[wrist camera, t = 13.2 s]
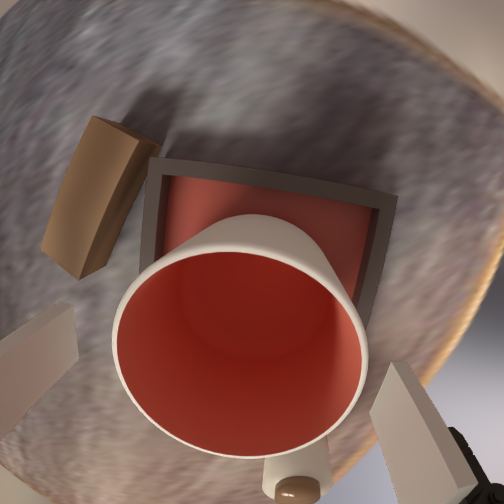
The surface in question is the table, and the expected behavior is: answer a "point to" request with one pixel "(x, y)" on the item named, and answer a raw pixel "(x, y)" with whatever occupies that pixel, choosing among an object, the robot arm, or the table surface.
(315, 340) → the cup
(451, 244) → the table surface
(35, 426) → the table surface
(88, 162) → the box
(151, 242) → the tray
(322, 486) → the ceramic jar
